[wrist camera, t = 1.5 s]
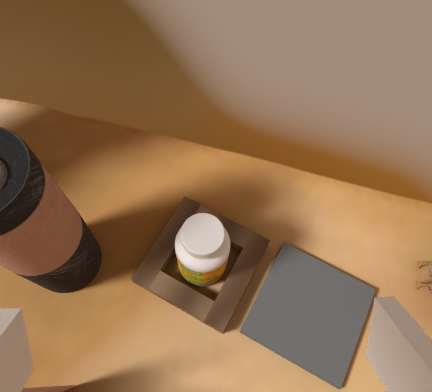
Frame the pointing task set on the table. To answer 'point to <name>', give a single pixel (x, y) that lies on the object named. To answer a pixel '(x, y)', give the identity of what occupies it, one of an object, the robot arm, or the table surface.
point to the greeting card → (49, 389)
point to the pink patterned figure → (431, 285)
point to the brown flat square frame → (187, 297)
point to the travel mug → (41, 224)
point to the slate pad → (310, 314)
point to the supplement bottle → (202, 249)
